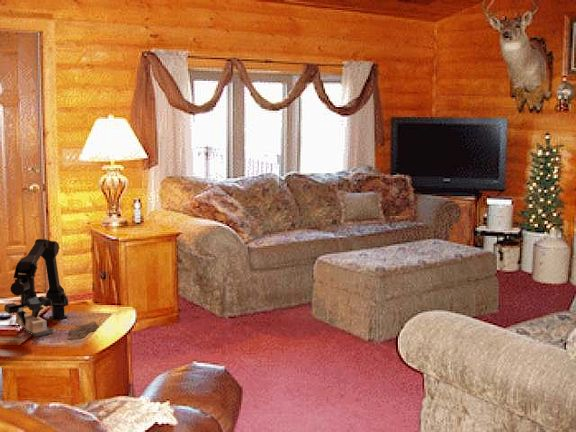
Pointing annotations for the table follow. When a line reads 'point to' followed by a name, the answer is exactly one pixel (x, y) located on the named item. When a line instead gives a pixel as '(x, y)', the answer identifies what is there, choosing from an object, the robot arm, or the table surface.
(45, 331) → the balance ridge
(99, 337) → the table surface
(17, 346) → the table surface
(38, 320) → the birch rod
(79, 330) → the wooden fragment
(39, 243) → the robot arm
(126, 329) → the table surface
